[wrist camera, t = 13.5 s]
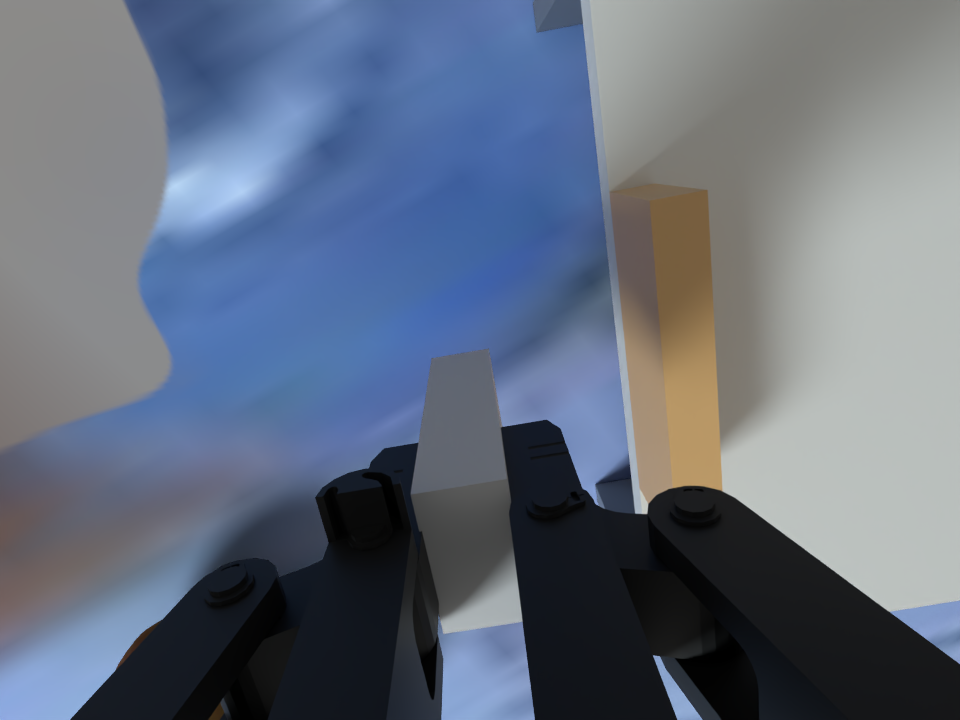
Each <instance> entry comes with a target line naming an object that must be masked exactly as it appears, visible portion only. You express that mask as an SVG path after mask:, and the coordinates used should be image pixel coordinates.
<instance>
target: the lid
mask: <svg viewBox="0 0 960 720" xmlns="http://www.w3.org/2000/svg"><path fill="white" fill-rule="evenodd" d="M581 9H582V18H583V28H584V37H585V46H586V56H587V65H588V75H589V84H590V93H591V103H592V112H593V122H594V131H595V140H596V150H597V159H598V169H599V178H600V187H601V197H602V206H603V216H604V225H605V234H606V244H607V253H608V263H609V272H610V281H611V291H612V300H613V310H614V319H615V328H616V338H617V347H618V357H619V366H620V375H621V385H622V394H623V403H624V413H625V422H626V432H627V441H628V450H629V460H630V469H631V479H632V488H633V497H634V507H635V514H647V511H648V504H649V503H650V501H651V500H652V499H653V498H654V497H655V496H656V495H657V494H659V493H661V492H664V491H666V490H668V489H671V488H676V487H682V486H705V487H709V488H713V489H717V490H721V491H723V492H725V493H727V494H729V495H731V496H733V497H735V498H736V499H737V500H739V501H740V502H741V503H743V504H744V505H745V506H747V507H748V508H750V509H751V510H752V511H754V512H755V513H756V514H758V515H759V516H760V517H762V518H763V519H764V520H766V521H767V522H768V523H770V524H771V525H772V526H774V527H775V528H777V529H778V530H779V531H781V532H782V533H783V534H785V535H786V536H787V537H789V538H790V539H791V540H793V541H794V542H795V543H797V544H798V545H799V546H801V547H802V548H804V549H805V550H806V551H808V552H809V553H810V554H812V555H813V556H814V557H816V558H817V559H818V560H820V561H821V562H822V563H824V564H825V565H826V566H828V567H829V568H831V569H832V570H833V571H835V572H836V573H837V574H839V575H840V576H841V577H843V578H844V579H845V580H847V581H848V582H849V583H851V584H852V585H853V586H855V587H856V588H858V589H859V590H860V591H862V592H863V593H864V594H866V595H867V596H868V597H870V598H871V599H872V600H874V601H875V602H876V603H878V604H879V605H880V606H882V607H883V608H885V609H886V610H887V611H889V612H891V611H897V610H903V609H909V608H915V607H922V606H928V605H934V604H940V603H947V602H953V601H959V600H960V0H581Z"/></svg>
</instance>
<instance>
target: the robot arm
mask: <svg viewBox="0 0 960 720" xmlns="http://www.w3.org/2000/svg"><path fill="white" fill-rule="evenodd" d="M315 498H316V502H317V505H318V508H319V512H320V515H321V518H322V522H323V525H324V528H325V532H326V535H327V538H328V542H329V543H328V546H327V549H326V552H325V555H324V558H323V560H321V561H319V562H317V563H315V564H313V565H311V566H308V567H306V568H303V569H301V570H298V571H295V572H293V573H290V574H287V575H285V576H282V577H279V576H278V573H277V570H276V567H275V566H274V565H273V564H272V563H271V562H269V561H268V560H264V559H258V558H253V559H246V560H239V561H235V562H232V563H231V564H230V563H229V564H226V565H224V566H221V567H220V568H219V569H217V570H215V571H214V572H212V573H210V574H208V575H207V576H205V577H204V578H203V579H202V580H201V581H199V582H198V583H197V584H196V585H195V586H194V587H192V588H191V589H190V591H189V592H188V593H187V594H186V595H185V596H184V597H183V598H182V599H181V600H180V601H179V602H178V604H177V605H176V606H175V607H174V608H173V609H172V610H171V611H170V612H169V613H168V614H167V615H166V617H165V618H164V619H163V620H162V621H161V622H160V623H159V624H158V625H157V626H156V627H155V628H154V630H153V631H152V632H151V633H150V634H149V635H148V636H147V637H146V638H145V639H144V640H143V641H142V643H141V644H140V645H139V646H138V647H137V648H136V649H135V650H134V651H133V652H132V653H131V654H130V655H129V657H128V658H127V659H126V660H125V661H124V662H123V663H122V664H121V665H120V666H119V667H118V668H117V670H116V671H115V672H114V673H113V674H112V675H111V676H110V677H109V678H108V679H107V680H106V681H105V683H104V684H103V685H102V686H101V687H100V688H99V689H98V690H97V691H96V692H95V693H94V694H93V696H92V697H91V698H90V699H89V700H88V701H87V702H86V703H85V704H84V705H83V706H82V707H81V708H80V710H79V711H78V712H77V713H76V714H75V715H74V716H73V717H72V718H71V719H70V720H208V719H209V718H210V717H211V715H212V714H213V712H214V711H215V709H216V708H217V706H218V705H219V703H221V705H222V708H223V710H224V714H223V715H222V717H221V718H220V720H441V710H442V682H443V656H442V651H441V647H440V643H439V638H438V634H437V632H438V613H439V617H440V621H441V625H442V629H443V634H447V633H453V632H460V631H466V630H472V629H479V628H485V627H492V626H498V625H504V624H511V623H517V622H523V628H524V636H525V644H526V652H527V660H528V668H529V676H530V683H531V691H532V699H533V707H534V715H535V720H677V718H676V715H675V713H674V710H673V707H672V705H671V702H670V699H669V697H668V694H667V692H666V689H665V686H664V684H663V681H662V678H661V676H660V673H659V671H658V668H657V665H656V663H655V660H654V657H653V655H655V656H660V657H661V659H662V661H663V664H664V666H665V668H666V670H667V671H668V672H669V674H670V675H671V677H672V678H673V679H674V681H675V682H676V683H677V685H678V686H679V688H680V689H681V690H682V692H683V693H684V694H685V696H686V697H687V699H688V700H689V701H690V703H691V704H692V705H693V707H694V708H695V710H696V711H697V712H698V714H699V715H700V716H701V718H702V719H703V720H960V664H959V663H957V662H956V661H955V660H953V659H952V658H951V657H949V656H948V655H947V654H945V653H944V652H943V651H941V650H940V649H939V648H937V647H936V646H934V645H933V644H932V643H930V642H929V641H928V640H926V639H925V638H924V637H922V636H921V635H920V634H918V633H917V632H916V631H914V630H913V629H912V628H910V627H909V626H907V625H906V624H905V623H903V622H902V621H901V620H899V619H898V618H897V617H895V616H894V615H893V614H891V613H890V612H889V611H887V610H886V609H885V608H883V607H882V606H880V605H879V604H878V603H876V602H875V601H874V600H872V599H871V598H870V597H868V596H867V595H866V594H864V593H863V592H862V591H860V590H859V589H858V588H856V587H855V586H853V585H852V584H851V583H849V582H848V581H847V580H845V579H844V578H843V577H841V576H840V575H839V574H837V573H836V572H835V571H833V570H832V569H831V568H829V567H828V566H826V565H825V564H824V563H822V562H821V561H820V560H818V559H817V558H816V557H814V556H813V555H812V554H810V553H809V552H808V551H806V550H805V549H804V548H802V547H801V546H799V545H798V544H797V543H795V542H794V541H793V540H791V539H790V538H789V537H787V536H786V535H785V534H783V533H782V532H781V531H779V530H778V529H777V528H775V527H774V526H772V525H771V524H770V523H768V522H767V521H766V520H764V519H763V518H762V517H760V516H759V515H758V514H756V513H755V512H754V511H752V510H751V509H750V508H748V507H747V506H745V505H744V504H743V503H741V502H740V501H739V500H737V499H736V498H735V497H733V496H731V495H729V494H727V493H725V492H723V491H721V490H717V489H713V488H709V487H705V486H682V487H676V488H671V489H668V490H666V491H664V492H661V493H659V494H657V495H656V496H655V497H654V498H653V499H652V500H651V501H650V503H649V504H648V511H647V514H634V513H622V512H615V511H611V510H607V509H604V508H602V507H600V506H598V505H596V504H595V503H594V500H593V498H592V497H591V496H590V495H589V493H588V492H587V491H586V490H584V489H582V487H581V484H580V481H579V478H578V476H577V473H576V470H575V467H574V465H573V462H572V459H571V456H570V454H569V451H568V448H567V446H566V443H565V440H564V437H563V435H562V432H561V429H560V428H558V427H557V426H555V425H554V424H552V423H551V422H549V421H548V420H542V421H536V422H530V423H524V424H518V425H512V426H506V427H502V423H501V417H500V411H499V406H498V400H497V394H496V388H495V382H494V377H493V371H492V365H491V359H490V353H489V349H484V350H478V351H472V352H466V353H461V354H455V355H449V356H443V357H437V358H432V360H431V366H430V372H429V379H428V385H427V392H426V398H425V405H424V411H423V417H422V424H421V430H420V437H419V443H414V444H408V445H402V446H396V447H390V448H384V449H383V450H382V451H381V452H380V453H379V454H378V455H377V456H376V457H375V458H374V459H373V460H372V461H371V464H370V467H369V469H362V470H358V471H354V472H350V473H347V474H345V475H343V476H341V477H339V478H336V479H334V480H333V481H331V482H330V483H329V484H327V485H326V486H324V487H323V488H322V489H321V490H320V492H319V493H318V494H317V496H316V497H315Z"/></svg>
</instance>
